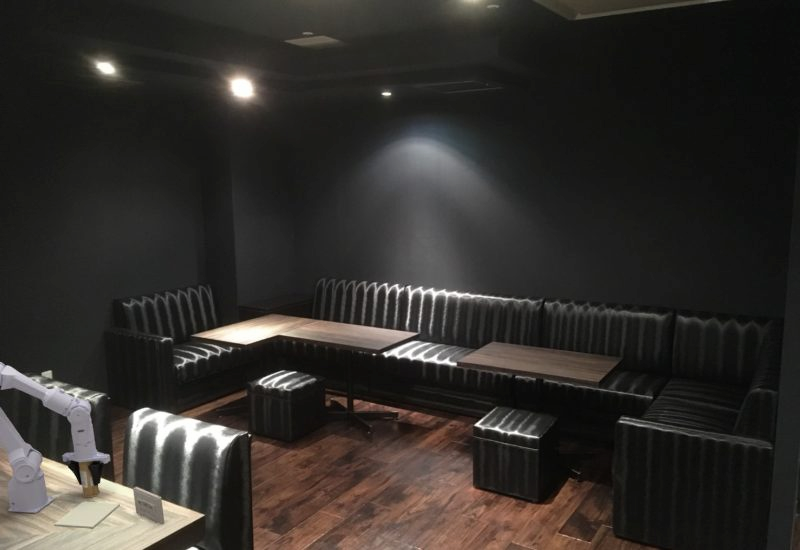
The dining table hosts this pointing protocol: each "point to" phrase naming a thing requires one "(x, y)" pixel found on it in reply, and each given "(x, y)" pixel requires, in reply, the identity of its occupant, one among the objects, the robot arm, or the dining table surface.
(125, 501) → the dining table surface
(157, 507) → the cassette
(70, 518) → the sage mat
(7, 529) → the dining table surface
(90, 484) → the sprinkles bottle
